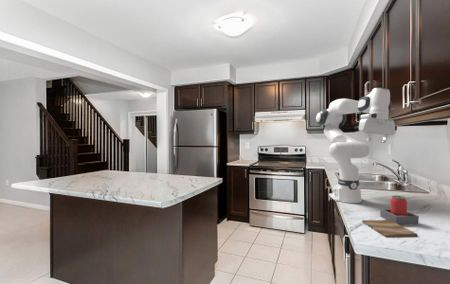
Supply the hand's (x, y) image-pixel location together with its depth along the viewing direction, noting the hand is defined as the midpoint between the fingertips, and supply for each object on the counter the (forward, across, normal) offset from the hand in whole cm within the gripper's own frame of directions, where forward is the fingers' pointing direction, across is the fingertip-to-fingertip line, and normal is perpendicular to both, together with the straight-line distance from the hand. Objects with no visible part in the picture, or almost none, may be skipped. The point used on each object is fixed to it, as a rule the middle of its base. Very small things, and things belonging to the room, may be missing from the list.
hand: (375, 141), depth 124 cm
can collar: (+39, -8, +10) cm, 41 cm away
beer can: (+40, -8, +10) cm, 42 cm away
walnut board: (+41, +6, +18) cm, 45 cm away
